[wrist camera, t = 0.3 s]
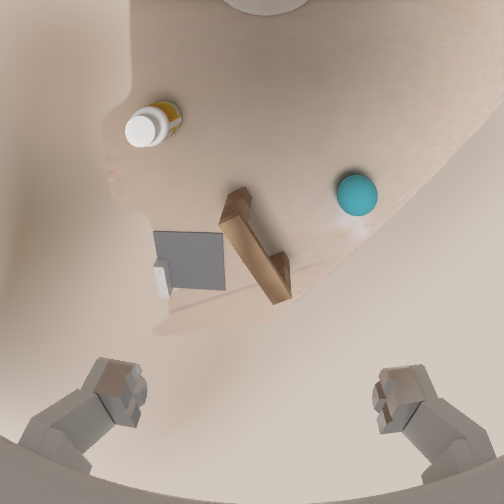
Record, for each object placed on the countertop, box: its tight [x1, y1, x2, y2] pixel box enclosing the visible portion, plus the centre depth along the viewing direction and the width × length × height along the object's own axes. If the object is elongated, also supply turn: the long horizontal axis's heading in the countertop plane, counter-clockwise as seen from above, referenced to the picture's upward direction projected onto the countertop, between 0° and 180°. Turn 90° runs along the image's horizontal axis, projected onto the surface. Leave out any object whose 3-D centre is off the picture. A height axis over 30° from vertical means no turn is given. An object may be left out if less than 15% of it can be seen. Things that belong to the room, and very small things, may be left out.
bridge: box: [219, 187, 292, 305], centre depth 46 cm, size 3×15×10 cm, turn 29°
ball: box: [337, 175, 378, 216], centre depth 42 cm, size 6×6×6 cm
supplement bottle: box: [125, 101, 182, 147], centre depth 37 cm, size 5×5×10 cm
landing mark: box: [153, 231, 225, 291], centre depth 54 cm, size 12×12×1 cm
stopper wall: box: [153, 259, 173, 298], centre depth 55 cm, size 7×2×2 cm, turn 179°
